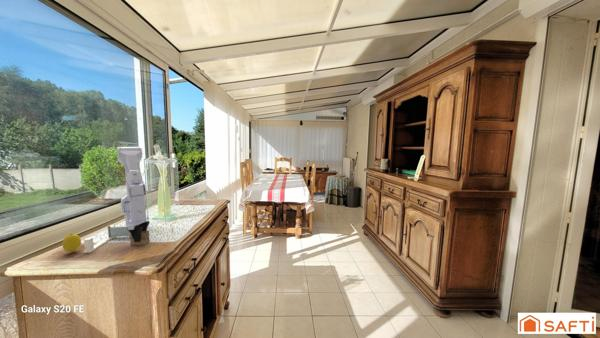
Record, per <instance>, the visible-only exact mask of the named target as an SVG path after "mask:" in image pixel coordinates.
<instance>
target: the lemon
mask: <svg viewBox="0 0 600 338" xmlns="http://www.w3.org/2000/svg"><path fill="white" fill-rule="evenodd" d="M61 245H62V249H63V250H64V251H66V252H68V253H69V252H70V253H75V252H76V251H77V250H78V249H80V247H81V246H82V240H81V237H80V236H79V235H78V234H74V233H70V234H68V235H66V236H65V237H64V238H63V239H62V243H61Z"/></svg>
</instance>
